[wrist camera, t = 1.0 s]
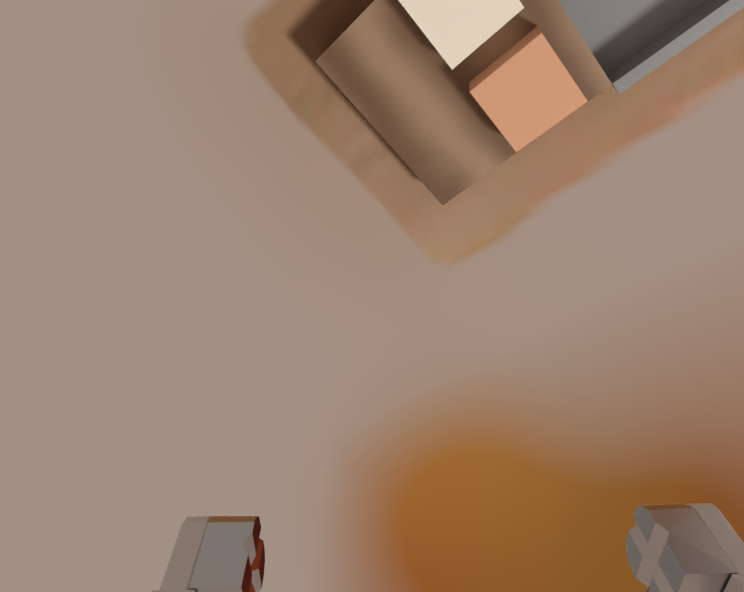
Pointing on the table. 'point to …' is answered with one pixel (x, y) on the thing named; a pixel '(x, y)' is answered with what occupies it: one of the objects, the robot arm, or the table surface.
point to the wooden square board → (442, 88)
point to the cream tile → (460, 23)
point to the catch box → (643, 31)
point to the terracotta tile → (527, 90)
